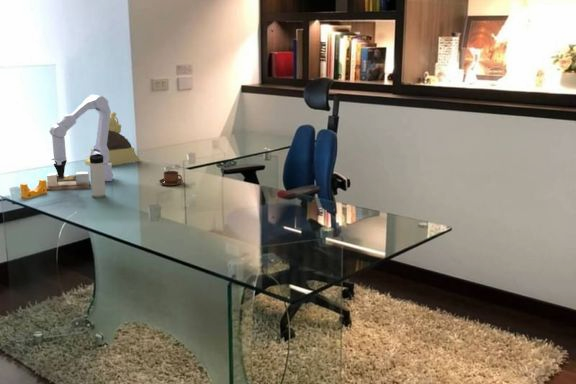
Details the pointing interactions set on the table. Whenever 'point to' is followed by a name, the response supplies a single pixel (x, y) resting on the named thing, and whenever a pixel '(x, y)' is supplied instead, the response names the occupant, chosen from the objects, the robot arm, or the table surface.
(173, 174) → the cup and saucer
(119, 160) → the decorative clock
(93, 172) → the travel mug
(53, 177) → the white square block
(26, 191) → the yellow u-shaped block
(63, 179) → the block with brass knob
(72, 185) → the walnut board
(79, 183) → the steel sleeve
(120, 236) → the table surface
